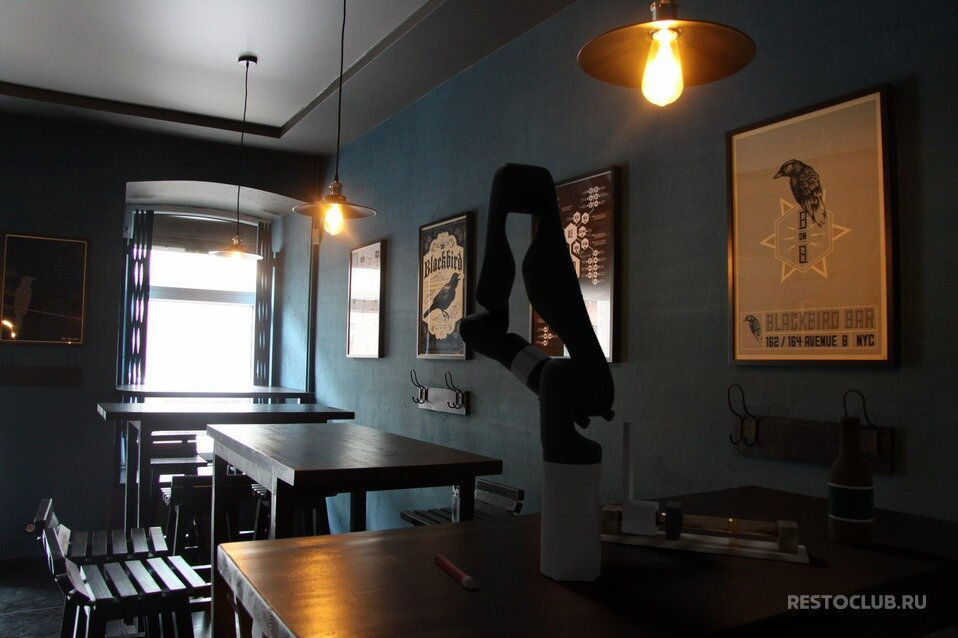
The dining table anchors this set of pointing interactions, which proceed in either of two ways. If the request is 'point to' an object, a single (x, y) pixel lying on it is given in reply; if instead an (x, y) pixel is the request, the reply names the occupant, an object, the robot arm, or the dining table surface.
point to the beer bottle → (850, 490)
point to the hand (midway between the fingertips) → (600, 421)
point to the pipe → (720, 524)
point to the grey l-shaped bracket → (635, 512)
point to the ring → (672, 520)
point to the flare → (455, 572)
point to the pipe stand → (709, 540)
